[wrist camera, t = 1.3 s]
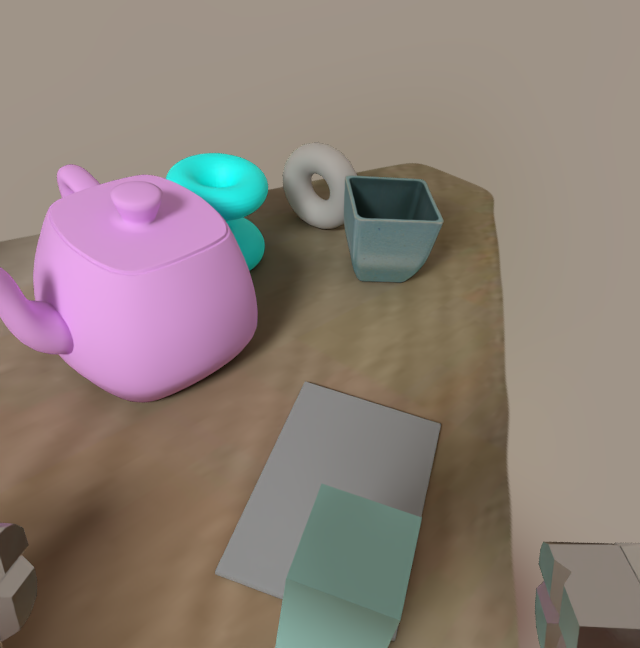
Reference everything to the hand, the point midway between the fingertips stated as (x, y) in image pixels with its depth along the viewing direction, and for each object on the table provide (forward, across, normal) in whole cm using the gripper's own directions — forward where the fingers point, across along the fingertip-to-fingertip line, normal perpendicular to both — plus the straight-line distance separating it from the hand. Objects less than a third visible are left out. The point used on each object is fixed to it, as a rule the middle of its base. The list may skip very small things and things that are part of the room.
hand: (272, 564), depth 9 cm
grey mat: (+30, +2, +20) cm, 36 cm away
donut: (+64, +6, +6) cm, 64 cm away
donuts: (+55, +16, +8) cm, 58 cm away
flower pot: (+57, -1, +10) cm, 58 cm away
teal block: (+18, +2, +25) cm, 31 cm away
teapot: (+41, +20, +12) cm, 47 cm away
